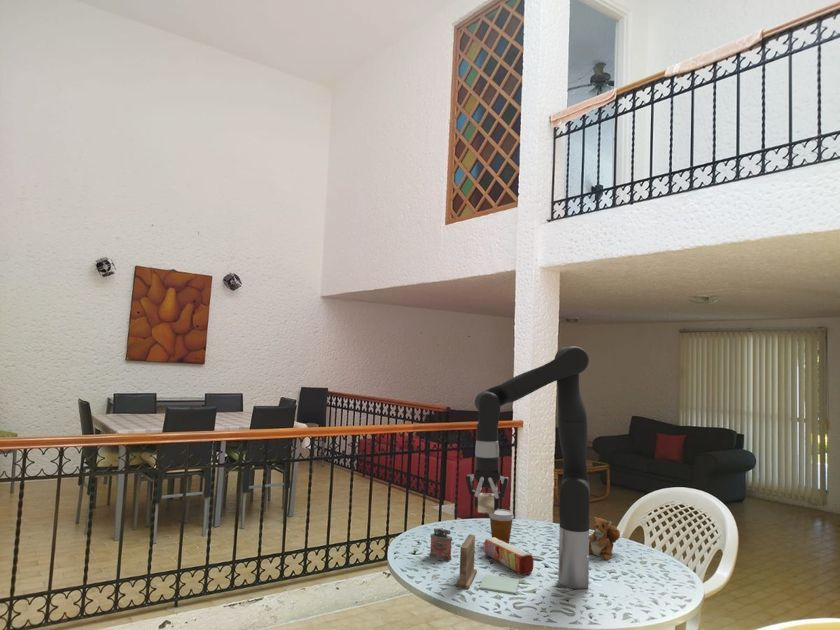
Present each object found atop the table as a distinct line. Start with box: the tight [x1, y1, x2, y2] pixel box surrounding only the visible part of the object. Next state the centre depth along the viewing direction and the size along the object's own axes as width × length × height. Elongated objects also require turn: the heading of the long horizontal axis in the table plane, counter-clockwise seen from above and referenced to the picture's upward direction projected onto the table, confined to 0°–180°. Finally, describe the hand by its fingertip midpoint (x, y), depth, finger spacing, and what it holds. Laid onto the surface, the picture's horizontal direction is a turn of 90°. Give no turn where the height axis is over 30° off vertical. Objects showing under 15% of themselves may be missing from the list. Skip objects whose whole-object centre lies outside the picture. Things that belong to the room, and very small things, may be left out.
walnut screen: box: [455, 533, 478, 590], centre depth 178 cm, size 4×14×12 cm, turn 164°
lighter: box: [429, 527, 453, 562], centre depth 197 cm, size 8×3×10 cm, turn 62°
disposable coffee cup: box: [488, 508, 515, 544], centre depth 214 cm, size 10×10×12 cm
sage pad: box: [479, 573, 520, 595], centre depth 175 cm, size 11×11×1 cm
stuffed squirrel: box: [589, 516, 621, 561], centre depth 208 cm, size 10×14×13 cm
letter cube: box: [477, 492, 496, 515], centre depth 178 cm, size 5×5×5 cm
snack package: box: [483, 536, 534, 576], centre depth 194 cm, size 21×7×7 cm, turn 28°
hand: (487, 508), depth 178 cm, fingers closed on letter cube, 5 cm apart
